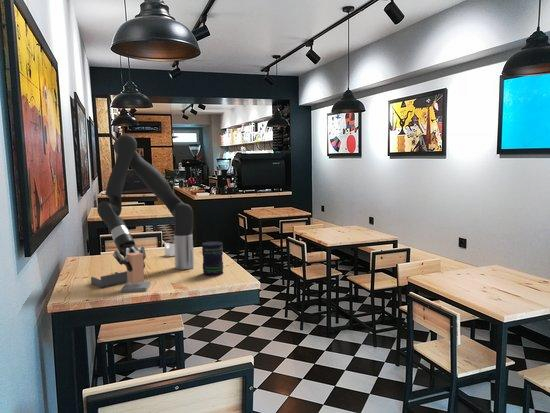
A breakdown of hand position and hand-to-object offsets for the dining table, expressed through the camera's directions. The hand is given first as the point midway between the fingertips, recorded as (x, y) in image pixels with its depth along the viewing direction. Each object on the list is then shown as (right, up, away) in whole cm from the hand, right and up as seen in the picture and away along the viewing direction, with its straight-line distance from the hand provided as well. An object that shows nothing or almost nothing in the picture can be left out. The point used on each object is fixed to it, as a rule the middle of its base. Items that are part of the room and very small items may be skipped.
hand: (137, 269), depth 172 cm
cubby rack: (-16, -8, +11) cm, 21 cm away
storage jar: (+28, -6, +25) cm, 38 cm away
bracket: (0, -3, +70) cm, 70 cm away
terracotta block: (-1, -6, +2) cm, 6 cm away
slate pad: (-1, -9, +2) cm, 9 cm away
